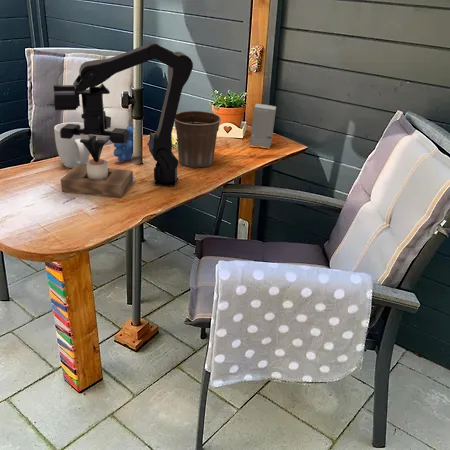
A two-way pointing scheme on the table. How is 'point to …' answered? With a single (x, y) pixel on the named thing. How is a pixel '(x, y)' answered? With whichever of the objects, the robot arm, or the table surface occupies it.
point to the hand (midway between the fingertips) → (96, 161)
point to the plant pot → (196, 137)
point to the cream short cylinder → (97, 169)
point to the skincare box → (262, 125)
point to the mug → (71, 147)
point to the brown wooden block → (97, 182)
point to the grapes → (125, 147)
